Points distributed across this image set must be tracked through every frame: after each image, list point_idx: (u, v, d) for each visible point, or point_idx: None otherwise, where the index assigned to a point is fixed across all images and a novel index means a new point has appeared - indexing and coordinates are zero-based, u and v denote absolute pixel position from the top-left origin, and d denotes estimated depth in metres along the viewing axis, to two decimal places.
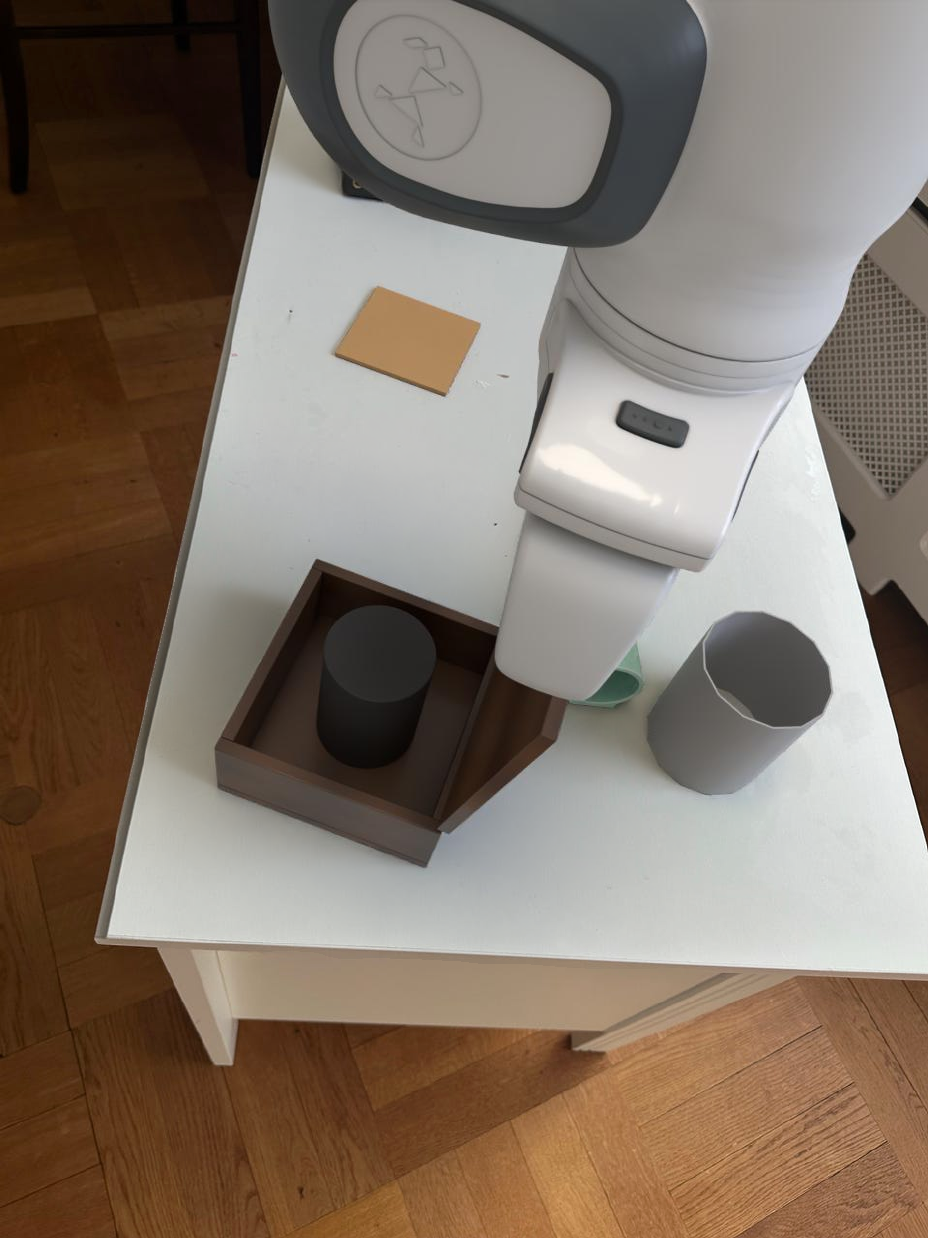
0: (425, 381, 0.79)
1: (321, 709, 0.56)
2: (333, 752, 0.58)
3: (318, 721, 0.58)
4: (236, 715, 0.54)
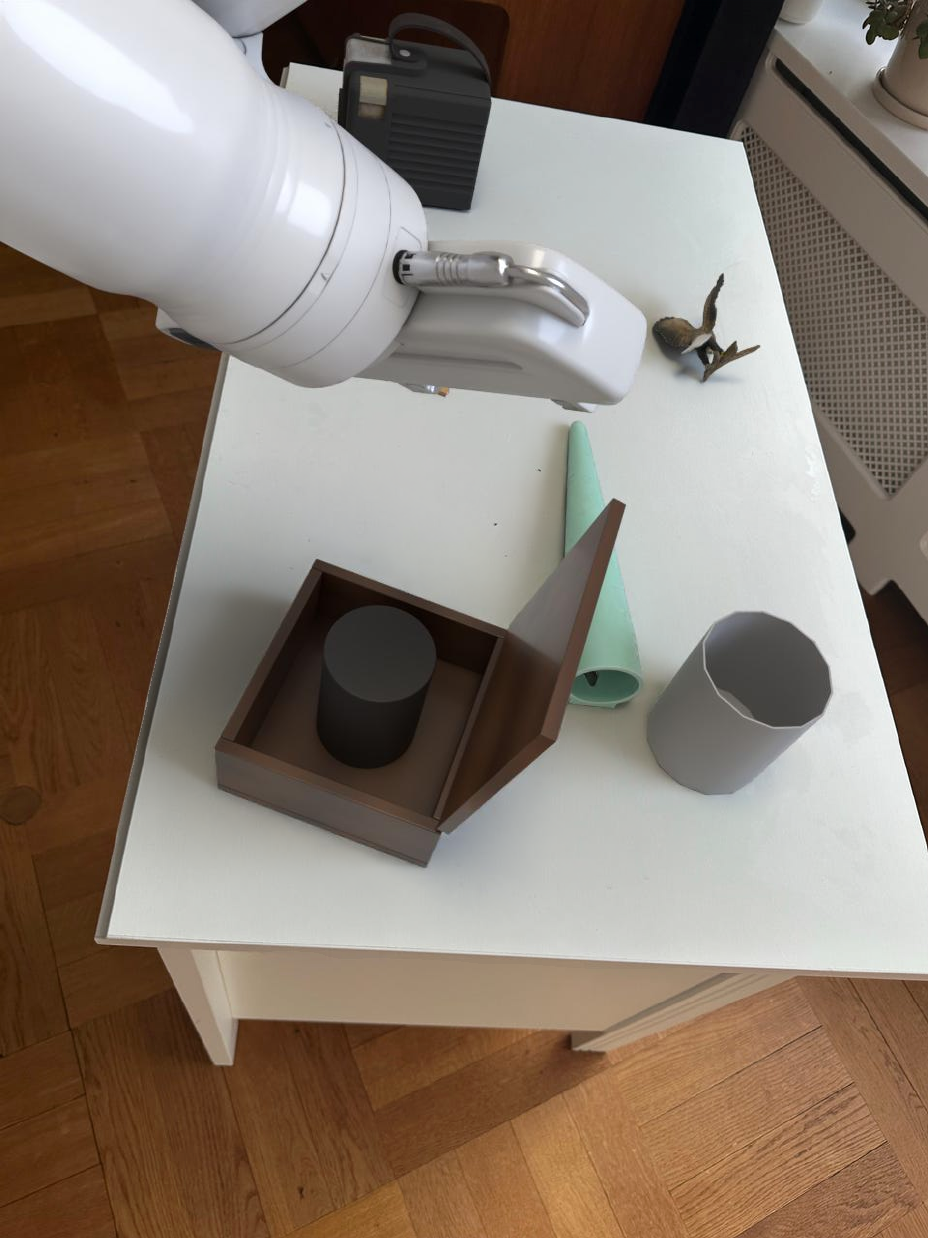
0: None
1: (321, 709, 0.56)
2: (333, 752, 0.58)
3: (318, 721, 0.58)
4: (236, 715, 0.54)
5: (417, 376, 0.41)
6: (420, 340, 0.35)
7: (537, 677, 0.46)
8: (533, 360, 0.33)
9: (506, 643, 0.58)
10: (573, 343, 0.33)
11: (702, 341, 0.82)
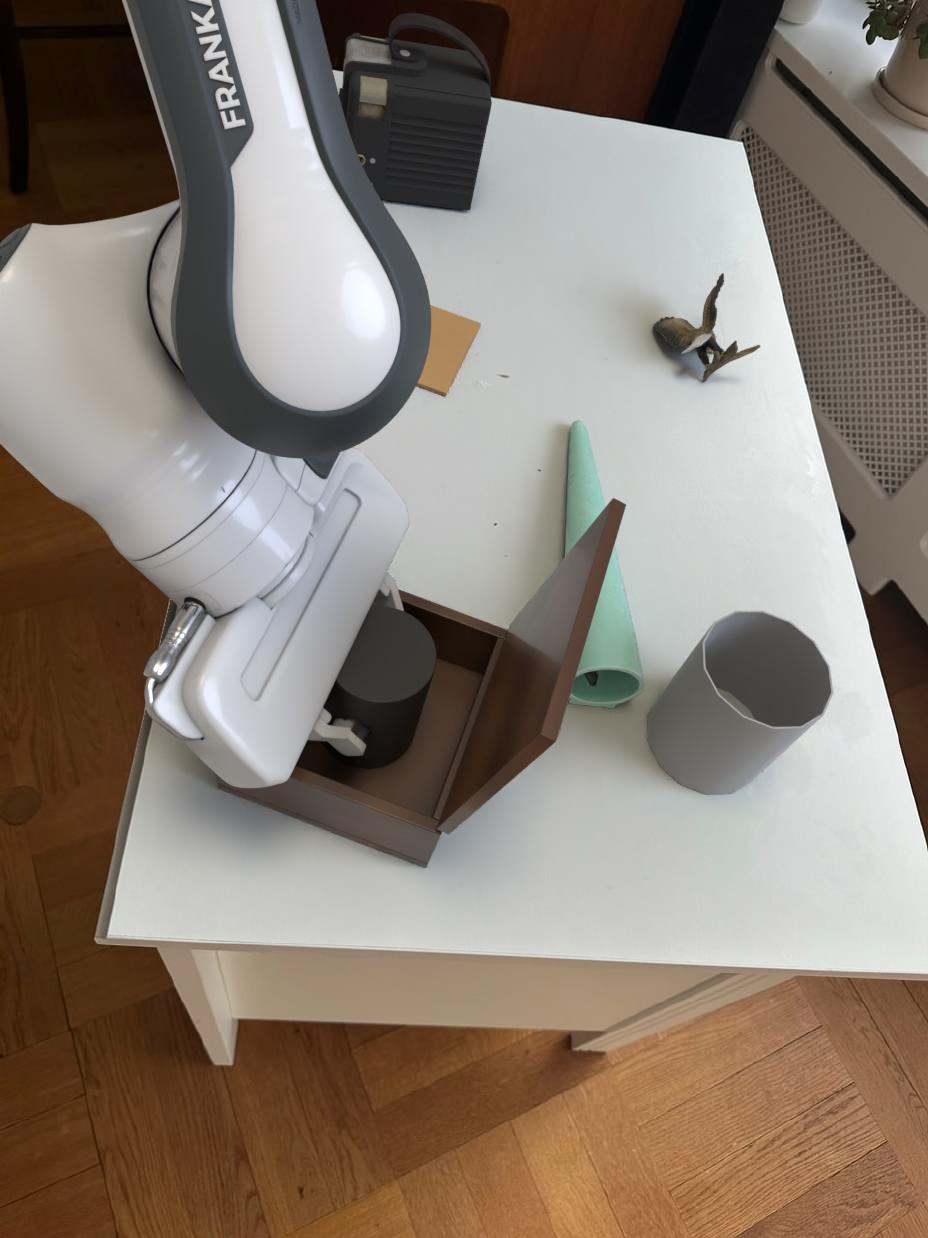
0: (425, 381, 0.79)
1: None
2: (333, 752, 0.58)
3: None
4: None
5: None
6: None
7: (537, 677, 0.46)
8: None
9: (506, 643, 0.58)
10: None
11: (702, 341, 0.82)
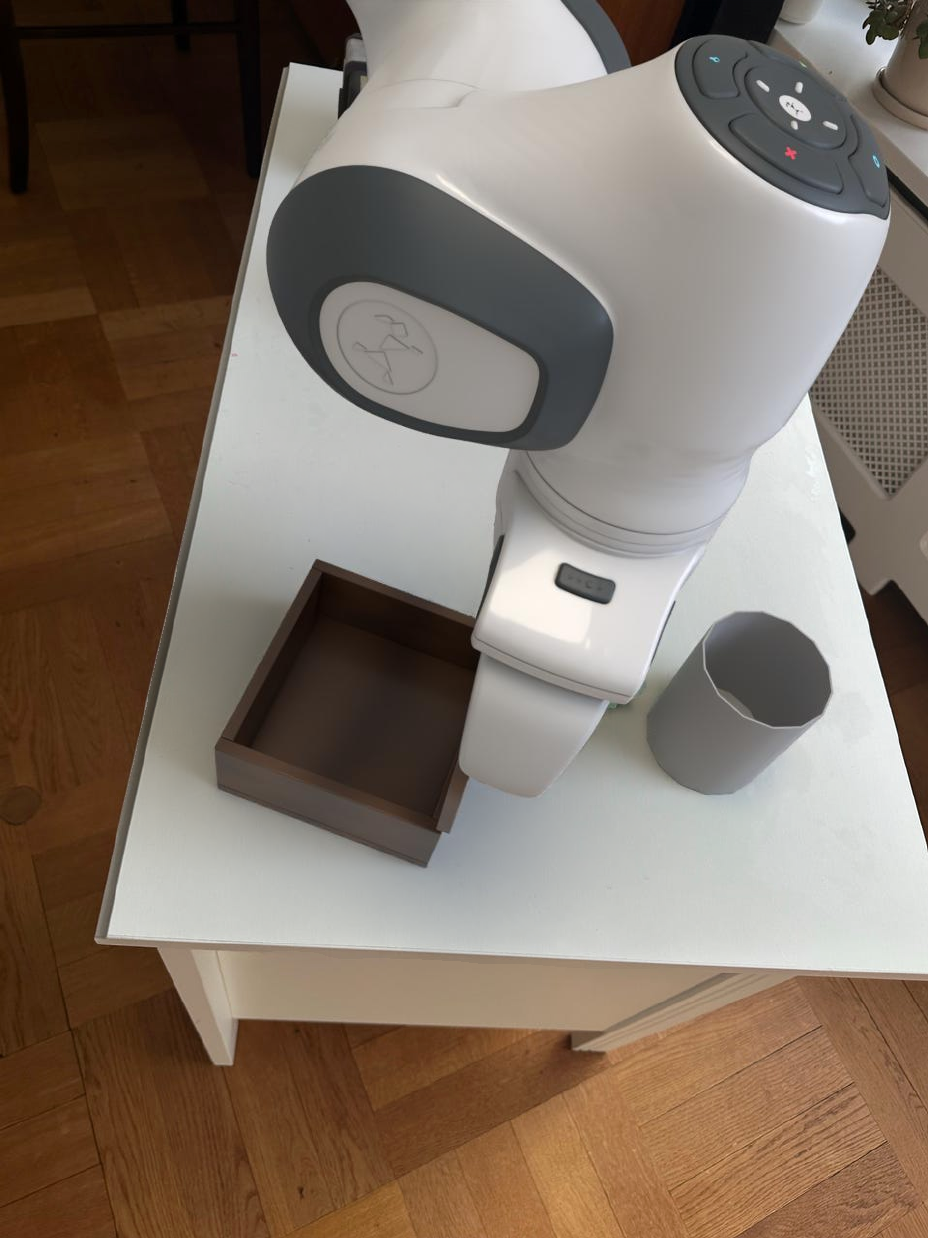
0: None
1: None
2: None
3: None
4: (236, 715, 0.54)
5: None
6: None
7: None
8: None
9: None
10: None
11: None
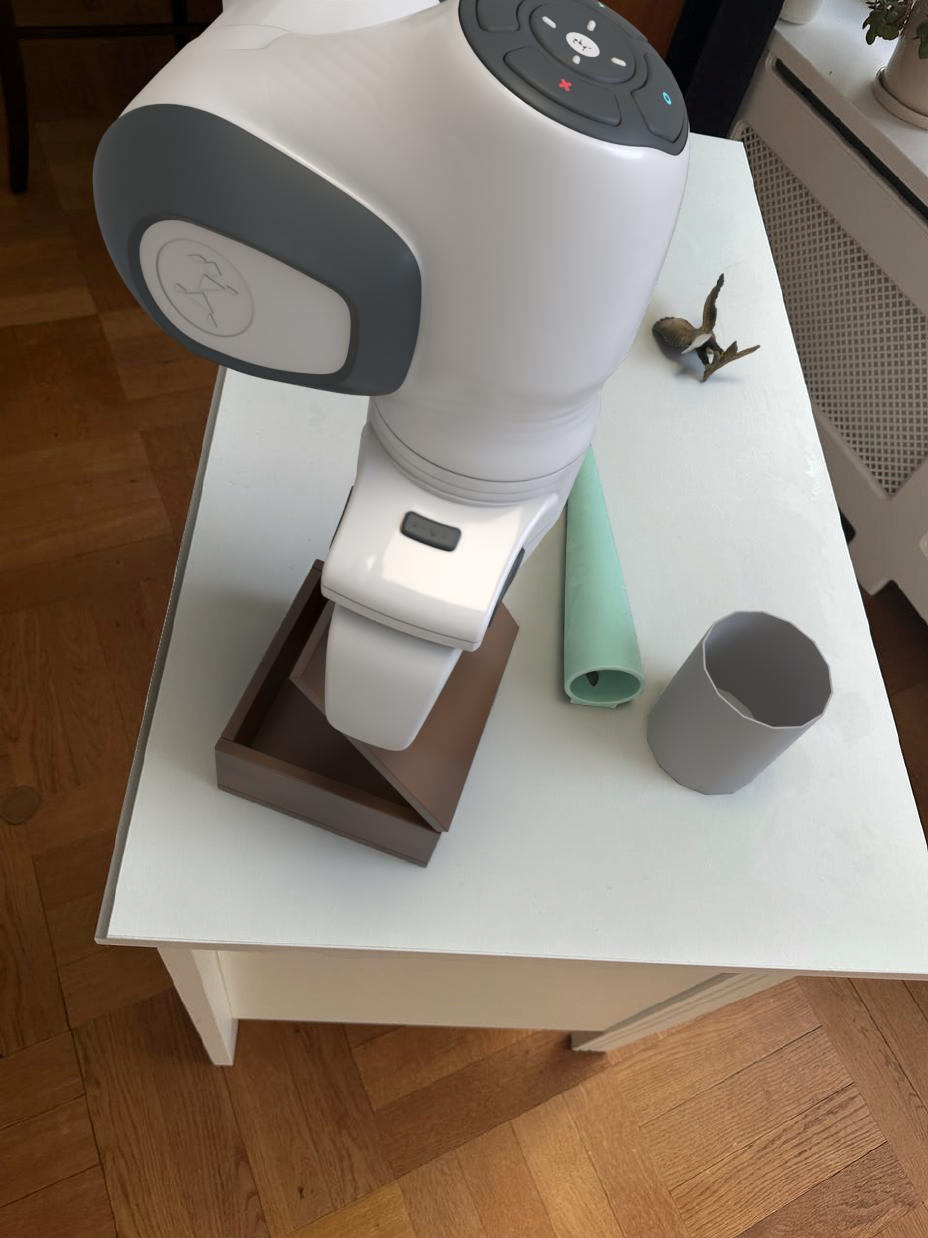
0: None
1: None
2: None
3: None
4: (236, 715, 0.54)
5: None
6: None
7: None
8: None
9: None
10: None
11: (702, 341, 0.82)
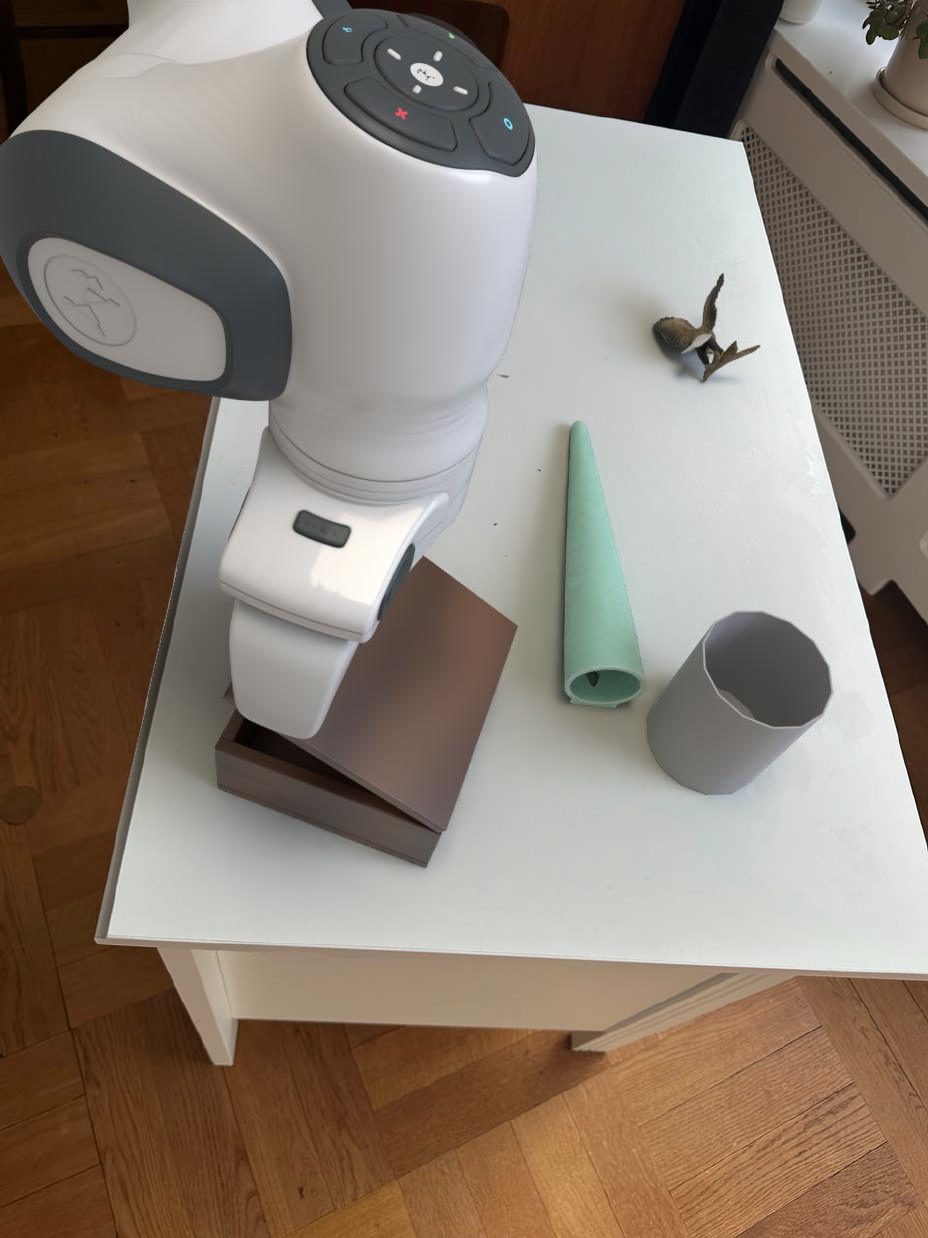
0: None
1: None
2: None
3: None
4: (236, 715, 0.54)
5: None
6: None
7: None
8: None
9: None
10: None
11: (702, 341, 0.82)
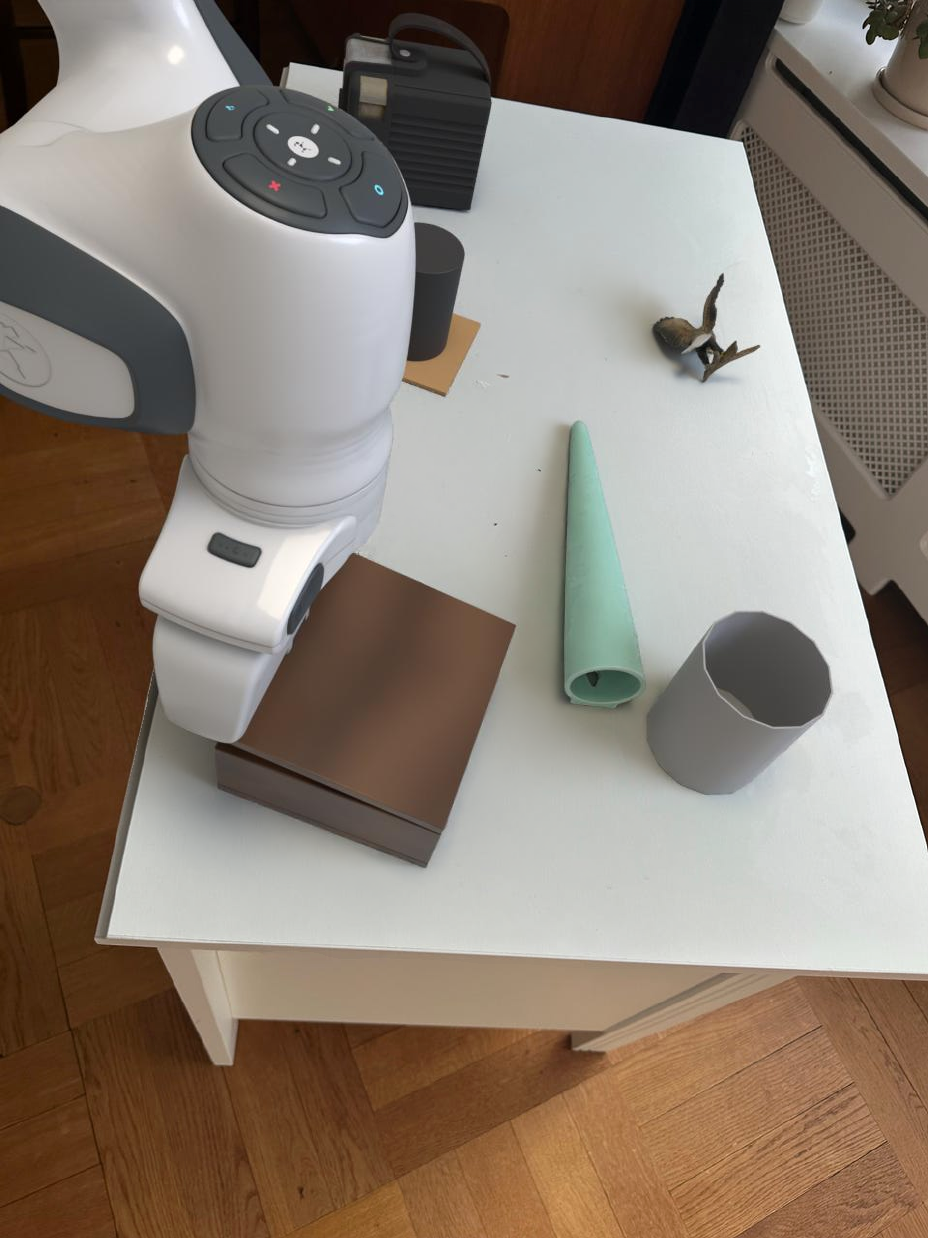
0: (425, 381, 0.79)
1: None
2: (413, 356, 0.80)
3: None
4: None
5: None
6: None
7: None
8: None
9: None
10: None
11: (702, 341, 0.82)
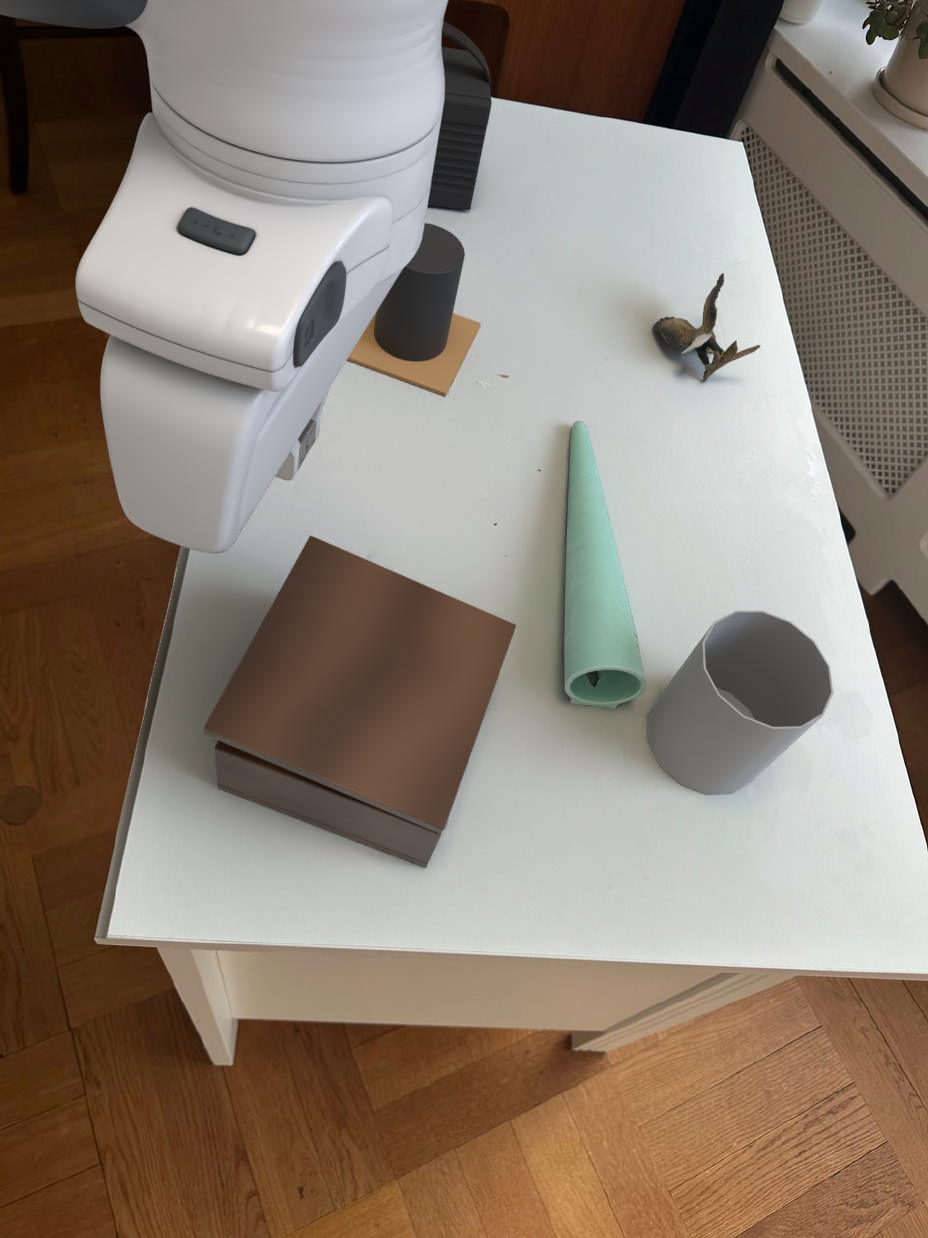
0: (425, 381, 0.79)
1: (399, 322, 0.77)
2: (413, 356, 0.80)
3: (393, 341, 0.79)
4: None
5: (335, 356, 0.37)
6: None
7: None
8: None
9: None
10: None
11: (702, 341, 0.82)
